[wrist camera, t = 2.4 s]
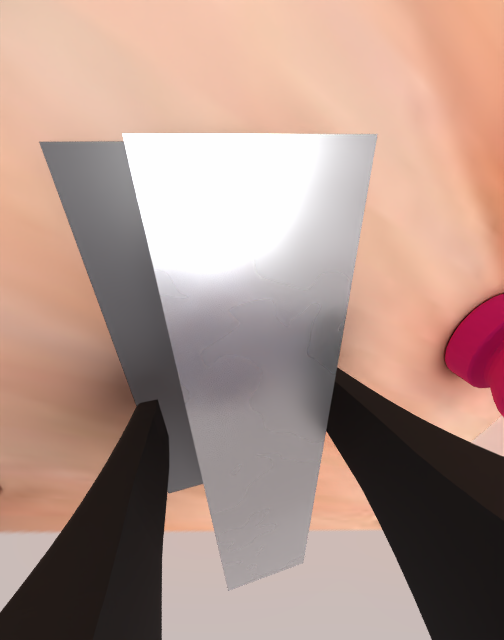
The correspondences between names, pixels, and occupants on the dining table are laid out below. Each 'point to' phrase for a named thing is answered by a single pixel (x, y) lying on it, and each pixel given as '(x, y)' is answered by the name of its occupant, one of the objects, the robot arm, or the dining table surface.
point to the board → (125, 283)
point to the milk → (492, 437)
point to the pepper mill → (481, 349)
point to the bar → (255, 315)
